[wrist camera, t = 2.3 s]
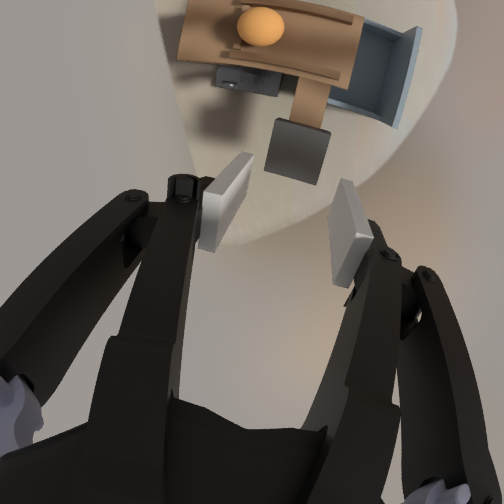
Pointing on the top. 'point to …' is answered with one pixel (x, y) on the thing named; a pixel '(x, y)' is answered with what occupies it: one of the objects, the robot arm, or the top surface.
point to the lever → (282, 67)
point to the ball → (260, 26)
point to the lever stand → (249, 79)
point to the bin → (380, 73)
